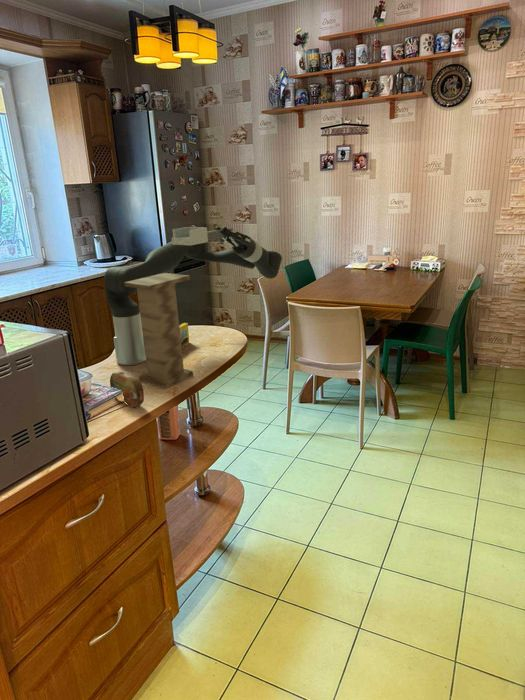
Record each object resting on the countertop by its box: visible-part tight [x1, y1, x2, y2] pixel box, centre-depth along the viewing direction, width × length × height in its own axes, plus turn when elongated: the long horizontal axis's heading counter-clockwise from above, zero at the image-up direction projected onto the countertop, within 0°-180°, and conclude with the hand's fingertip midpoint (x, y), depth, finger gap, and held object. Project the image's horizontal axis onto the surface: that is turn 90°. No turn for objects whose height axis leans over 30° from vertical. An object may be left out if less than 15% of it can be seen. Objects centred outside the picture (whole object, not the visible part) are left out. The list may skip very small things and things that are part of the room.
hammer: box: [171, 226, 234, 246], centre depth 161 cm, size 24×8×4 cm, turn 144°
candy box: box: [179, 322, 190, 349], centre depth 183 cm, size 16×2×8 cm, turn 161°
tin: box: [109, 371, 145, 409], centre depth 141 cm, size 15×3×8 cm, turn 45°
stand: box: [125, 272, 194, 389], centre depth 153 cm, size 16×12×32 cm
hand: (219, 229), depth 166 cm, fingers closed on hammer, 2 cm apart
